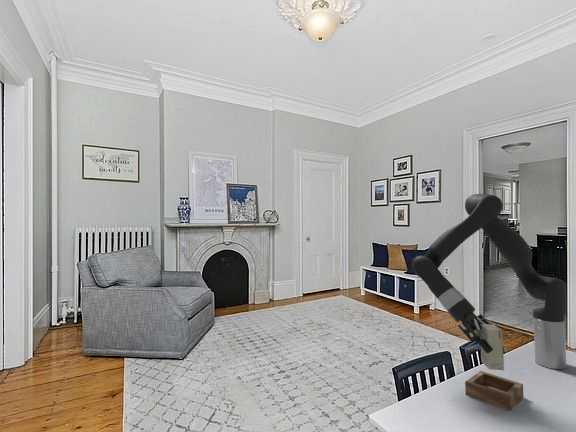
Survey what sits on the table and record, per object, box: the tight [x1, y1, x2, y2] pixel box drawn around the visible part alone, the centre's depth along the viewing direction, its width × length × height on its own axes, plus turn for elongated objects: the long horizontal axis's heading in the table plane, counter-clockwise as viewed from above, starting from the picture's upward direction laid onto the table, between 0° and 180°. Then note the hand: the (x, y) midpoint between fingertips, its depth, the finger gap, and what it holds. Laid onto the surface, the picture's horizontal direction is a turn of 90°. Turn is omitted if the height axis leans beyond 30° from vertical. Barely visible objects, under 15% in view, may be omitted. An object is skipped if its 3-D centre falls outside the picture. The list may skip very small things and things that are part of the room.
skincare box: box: [480, 324, 505, 371], centre depth 99 cm, size 6×4×12 cm
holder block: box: [464, 370, 525, 412], centre depth 98 cm, size 12×12×4 cm
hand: (495, 348), depth 98 cm, fingers closed on skincare box, 7 cm apart
